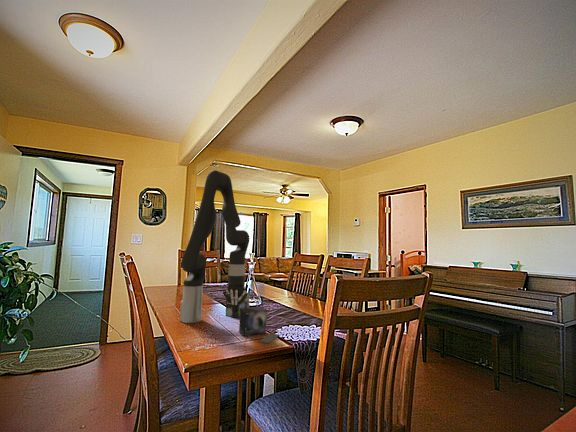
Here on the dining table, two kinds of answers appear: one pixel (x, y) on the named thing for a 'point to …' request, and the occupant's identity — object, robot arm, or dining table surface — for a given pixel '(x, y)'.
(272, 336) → the felt mat
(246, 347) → the dining table surface
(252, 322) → the small box
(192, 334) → the dining table surface
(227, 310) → the chalk box
